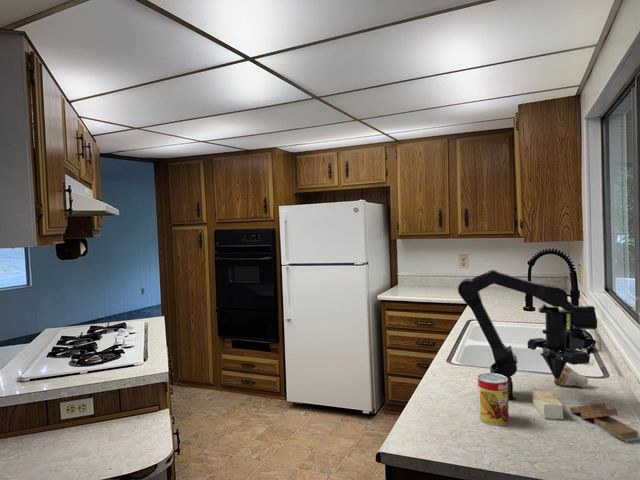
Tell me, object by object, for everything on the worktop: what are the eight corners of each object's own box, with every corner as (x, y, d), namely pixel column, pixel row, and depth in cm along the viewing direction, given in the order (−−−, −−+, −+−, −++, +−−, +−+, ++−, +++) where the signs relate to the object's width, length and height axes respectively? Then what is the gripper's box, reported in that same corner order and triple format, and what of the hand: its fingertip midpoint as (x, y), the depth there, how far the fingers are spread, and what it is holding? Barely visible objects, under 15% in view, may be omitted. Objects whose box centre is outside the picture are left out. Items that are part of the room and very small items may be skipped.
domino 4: (607, 426, 118) (639, 442, 109) (594, 428, 117) (626, 445, 108) (607, 420, 118) (639, 435, 109) (594, 423, 117) (625, 438, 108)
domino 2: (596, 417, 121) (617, 414, 113) (581, 419, 121) (602, 416, 113) (594, 411, 122) (615, 408, 114) (579, 412, 121) (599, 409, 113)
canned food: (509, 427, 118) (508, 383, 117) (478, 423, 120) (477, 381, 120) (507, 415, 125) (506, 374, 124) (478, 412, 128) (477, 371, 127)
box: (550, 389, 131) (564, 404, 120) (550, 403, 132) (564, 420, 121) (531, 389, 132) (544, 404, 121) (531, 403, 132) (544, 419, 121)
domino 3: (609, 421, 117) (637, 437, 108) (594, 423, 116) (621, 439, 108) (608, 415, 117) (637, 431, 108) (594, 417, 116) (621, 433, 107)
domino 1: (585, 412, 125) (607, 409, 117) (571, 413, 124) (592, 410, 116) (583, 406, 126) (605, 403, 118) (569, 407, 125) (590, 404, 117)
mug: (591, 392, 139) (574, 366, 140) (561, 399, 145) (545, 374, 146) (592, 379, 145) (575, 354, 146) (563, 386, 151) (547, 362, 152)
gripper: (604, 332, 124) (605, 385, 125) (554, 319, 142) (555, 366, 143) (572, 335, 121) (573, 390, 122) (525, 322, 140) (526, 369, 140)
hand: (557, 378), depth 132 cm, fingers closed
